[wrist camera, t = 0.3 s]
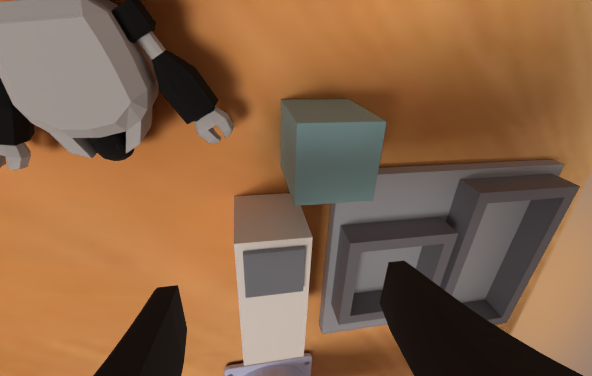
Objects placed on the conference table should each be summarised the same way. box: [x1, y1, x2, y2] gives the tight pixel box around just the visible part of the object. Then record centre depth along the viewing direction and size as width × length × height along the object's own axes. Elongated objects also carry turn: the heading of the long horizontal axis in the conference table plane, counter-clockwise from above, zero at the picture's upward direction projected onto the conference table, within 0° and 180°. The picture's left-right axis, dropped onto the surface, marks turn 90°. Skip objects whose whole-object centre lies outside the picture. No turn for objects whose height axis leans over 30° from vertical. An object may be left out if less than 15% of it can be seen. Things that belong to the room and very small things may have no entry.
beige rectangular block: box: [234, 193, 313, 366], centre depth 19 cm, size 10×4×5 cm, turn 178°
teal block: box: [281, 99, 387, 206], centre depth 16 cm, size 4×4×5 cm
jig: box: [319, 159, 580, 334], centre depth 23 cm, size 15×17×3 cm
